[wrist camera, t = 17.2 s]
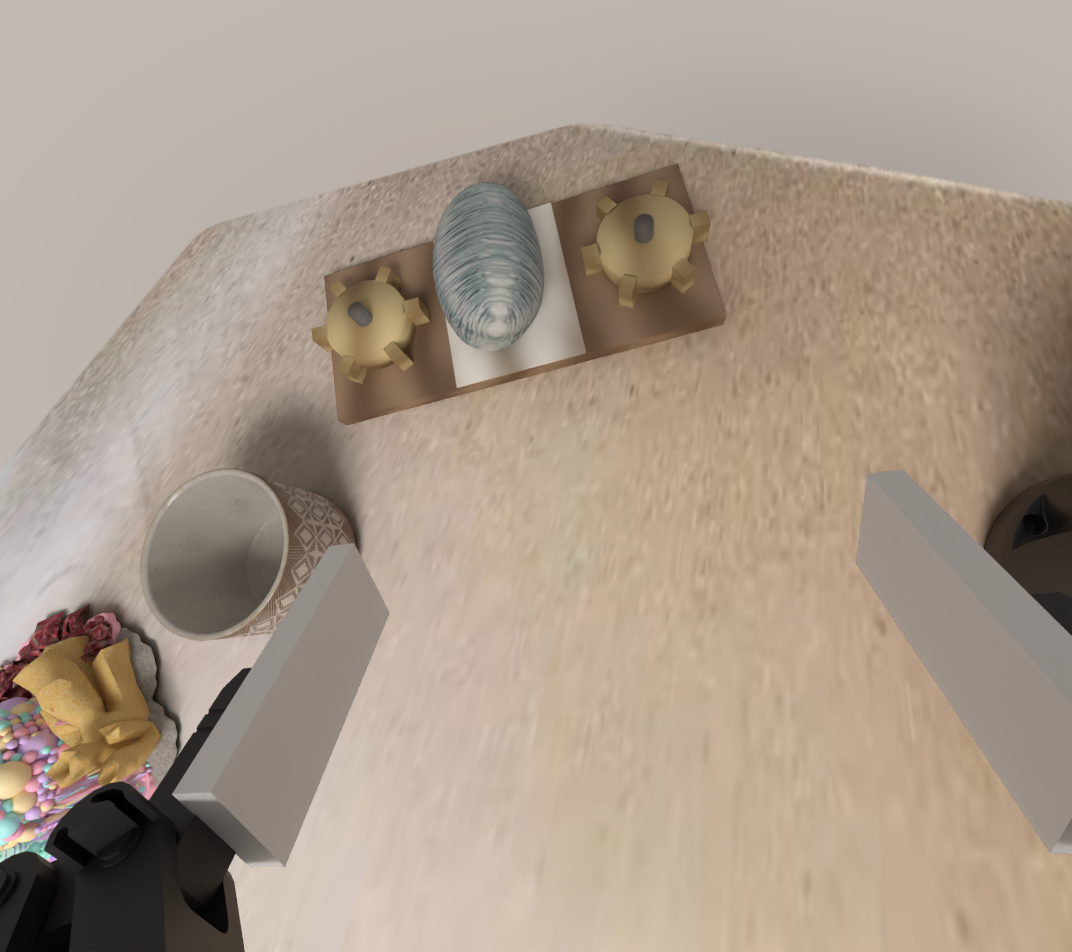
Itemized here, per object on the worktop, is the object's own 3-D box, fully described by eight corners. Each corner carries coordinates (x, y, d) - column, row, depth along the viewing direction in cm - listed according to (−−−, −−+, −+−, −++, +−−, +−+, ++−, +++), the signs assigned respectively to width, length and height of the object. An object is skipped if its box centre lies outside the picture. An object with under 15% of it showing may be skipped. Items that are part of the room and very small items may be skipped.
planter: (380, 509, 48) (310, 487, 38) (337, 648, 46) (252, 662, 36) (267, 481, 51) (176, 453, 41) (222, 609, 49) (115, 613, 39)
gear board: (680, 174, 49) (684, 124, 44) (728, 323, 45) (738, 287, 40) (329, 285, 55) (295, 252, 50) (342, 426, 51) (308, 406, 45)
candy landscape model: (105, 563, 53) (-3, 557, 44) (227, 747, 46) (128, 783, 38) (-68, 745, 53) (-212, 775, 44) (29, 959, 46) (-118, 1046, 37)
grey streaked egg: (427, 209, 48) (437, 145, 38) (527, 222, 51) (560, 166, 41) (428, 358, 48) (438, 332, 39) (527, 363, 51) (559, 340, 41)
